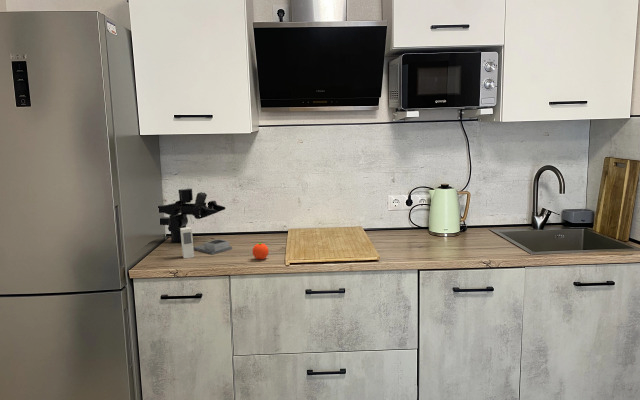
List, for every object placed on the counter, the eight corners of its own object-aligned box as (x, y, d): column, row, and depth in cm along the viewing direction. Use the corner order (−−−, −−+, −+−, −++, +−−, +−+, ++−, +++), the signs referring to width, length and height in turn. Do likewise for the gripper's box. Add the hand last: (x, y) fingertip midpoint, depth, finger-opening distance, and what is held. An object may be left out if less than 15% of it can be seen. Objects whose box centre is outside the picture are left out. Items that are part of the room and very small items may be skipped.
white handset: (182, 256, 223) (180, 228, 221) (192, 254, 224) (190, 226, 222) (184, 258, 219) (181, 230, 217) (194, 257, 220) (191, 228, 218)
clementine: (251, 257, 215) (250, 241, 214) (266, 255, 217) (265, 239, 216) (254, 262, 208) (253, 245, 207) (270, 260, 210) (269, 243, 209)
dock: (192, 249, 234) (191, 240, 233) (211, 244, 242) (211, 236, 241) (212, 254, 223) (211, 245, 223) (232, 249, 231) (231, 240, 231)
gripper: (182, 196, 237) (211, 196, 233) (200, 190, 255) (228, 191, 251) (183, 218, 239) (212, 219, 235) (202, 211, 256) (229, 212, 253)
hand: (221, 209), depth 243 cm, fingers open, 9 cm apart
